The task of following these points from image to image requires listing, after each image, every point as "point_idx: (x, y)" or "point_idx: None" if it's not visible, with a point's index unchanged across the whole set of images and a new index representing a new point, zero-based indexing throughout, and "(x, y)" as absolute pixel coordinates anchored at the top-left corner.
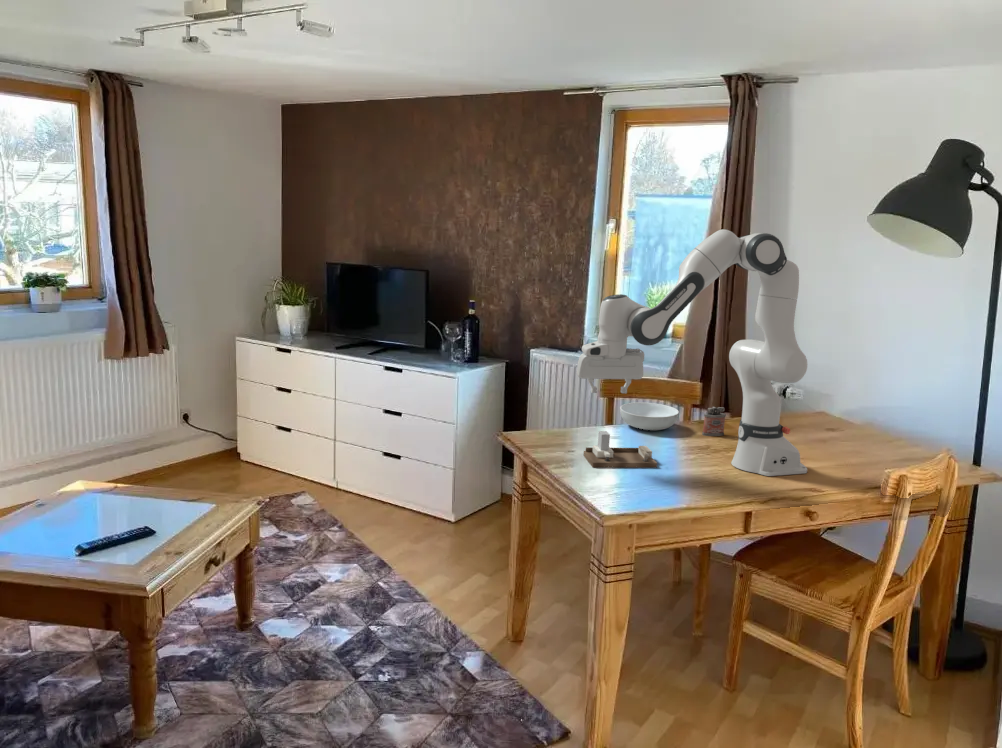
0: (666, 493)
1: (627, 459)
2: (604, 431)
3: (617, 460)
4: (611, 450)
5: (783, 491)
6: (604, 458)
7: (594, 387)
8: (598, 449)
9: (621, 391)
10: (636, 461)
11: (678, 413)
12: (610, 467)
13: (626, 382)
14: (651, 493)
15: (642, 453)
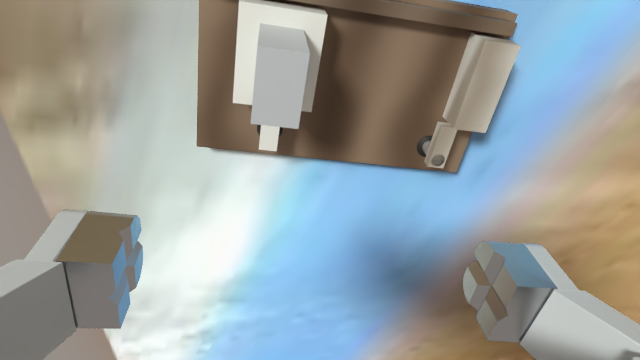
0: (342, 337)
1: (363, 123)
2: (292, 60)
3: (314, 131)
4: (307, 98)
5: None
6: None
7: (74, 331)
8: (246, 75)
9: (480, 265)
10: (386, 150)
11: None
12: None
13: (618, 357)
14: (303, 336)
15: (435, 136)
